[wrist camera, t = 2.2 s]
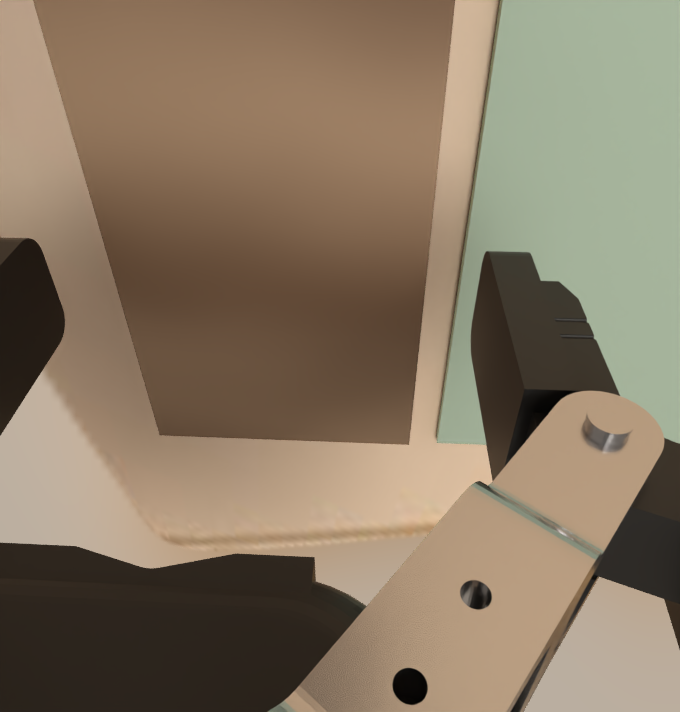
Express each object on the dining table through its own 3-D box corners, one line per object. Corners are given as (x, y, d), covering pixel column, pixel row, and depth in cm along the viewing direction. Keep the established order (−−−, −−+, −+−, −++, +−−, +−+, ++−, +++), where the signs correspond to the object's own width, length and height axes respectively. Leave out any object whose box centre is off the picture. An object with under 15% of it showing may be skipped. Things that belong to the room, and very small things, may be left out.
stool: (170, -110, 14) (14, -63, 8) (427, -110, 14) (461, -62, 8) (224, 258, 21) (160, 434, 15) (401, 263, 21) (409, 444, 15)
